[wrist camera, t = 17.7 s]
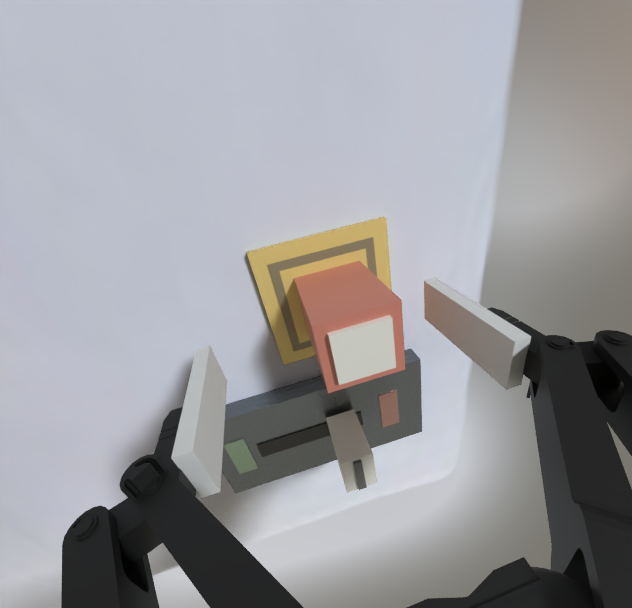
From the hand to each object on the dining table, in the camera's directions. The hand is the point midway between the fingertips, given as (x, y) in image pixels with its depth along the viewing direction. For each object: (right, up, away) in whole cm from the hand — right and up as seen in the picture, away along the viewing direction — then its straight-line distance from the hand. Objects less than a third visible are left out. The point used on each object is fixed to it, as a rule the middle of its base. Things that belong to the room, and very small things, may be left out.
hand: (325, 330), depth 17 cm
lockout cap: (+1, +2, +3) cm, 3 cm away
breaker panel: (0, -8, +9) cm, 12 cm away
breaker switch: (+2, -9, +7) cm, 11 cm away
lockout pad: (0, +2, +3) cm, 4 cm away
